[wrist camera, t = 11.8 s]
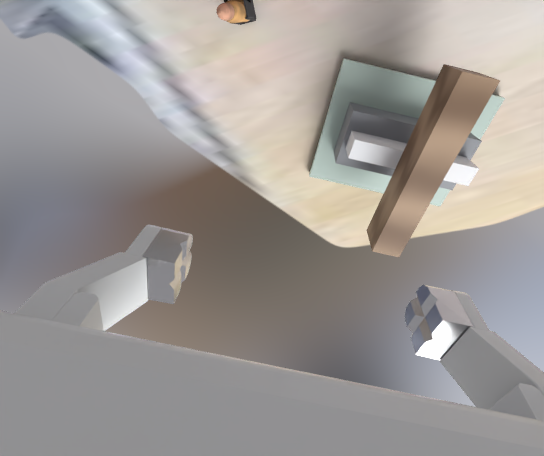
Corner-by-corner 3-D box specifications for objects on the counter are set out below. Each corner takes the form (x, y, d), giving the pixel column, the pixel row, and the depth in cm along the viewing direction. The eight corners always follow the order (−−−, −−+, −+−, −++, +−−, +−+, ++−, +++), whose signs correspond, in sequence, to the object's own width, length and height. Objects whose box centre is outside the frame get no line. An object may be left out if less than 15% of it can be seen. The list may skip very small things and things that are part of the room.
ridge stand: (343, 58, 35) (351, 68, 28) (499, 95, 35) (543, 114, 29) (309, 172, 43) (309, 201, 36) (437, 201, 43) (460, 236, 37)
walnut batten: (443, 64, 27) (462, 71, 24) (477, 72, 27) (500, 80, 24) (366, 230, 37) (372, 251, 34) (391, 235, 37) (399, 257, 34)
